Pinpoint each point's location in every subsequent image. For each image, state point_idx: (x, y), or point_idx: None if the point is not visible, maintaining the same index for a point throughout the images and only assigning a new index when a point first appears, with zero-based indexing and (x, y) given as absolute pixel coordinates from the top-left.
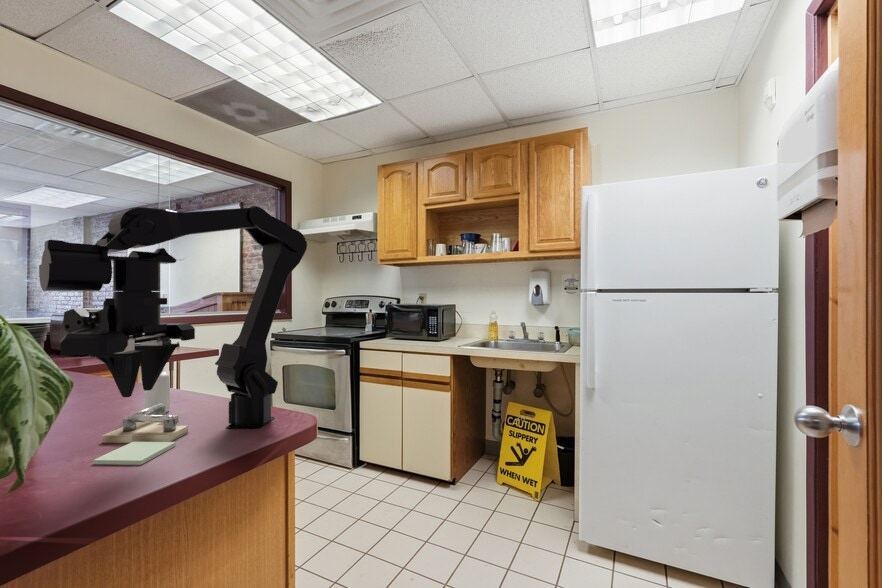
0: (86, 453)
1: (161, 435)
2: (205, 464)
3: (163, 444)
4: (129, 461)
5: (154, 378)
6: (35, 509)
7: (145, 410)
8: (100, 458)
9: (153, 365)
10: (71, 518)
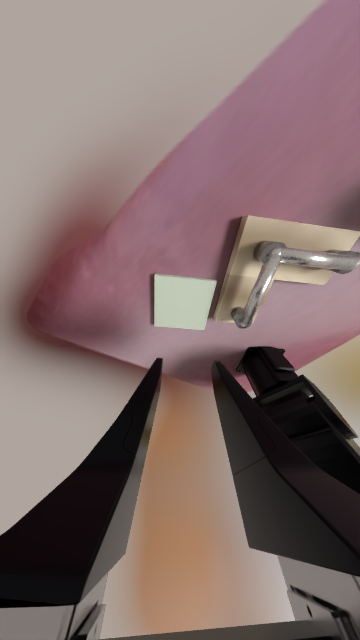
0: (195, 228)
1: (219, 313)
2: None
3: (198, 322)
4: (154, 315)
5: (216, 399)
6: (60, 297)
7: (310, 263)
8: (159, 280)
9: (231, 437)
10: (63, 333)
